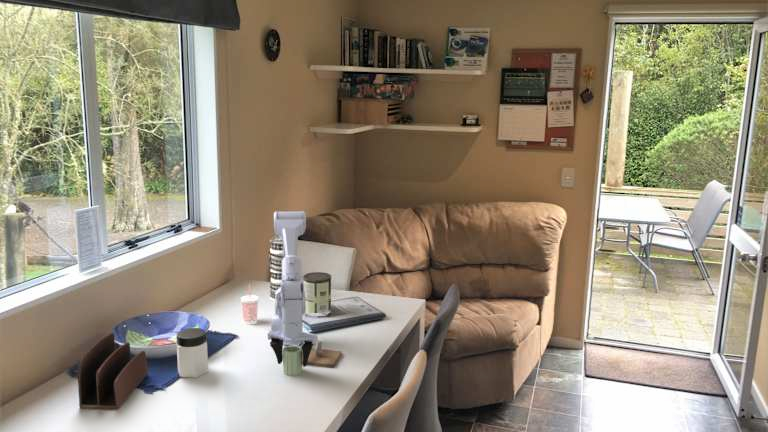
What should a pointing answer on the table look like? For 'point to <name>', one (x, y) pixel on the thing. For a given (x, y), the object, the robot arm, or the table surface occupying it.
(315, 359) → the spool holder
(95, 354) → the letter holder
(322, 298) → the coffee can
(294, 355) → the green segmented tube
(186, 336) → the jar
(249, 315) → the beverage cup
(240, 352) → the table surface
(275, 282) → the decorative candle
